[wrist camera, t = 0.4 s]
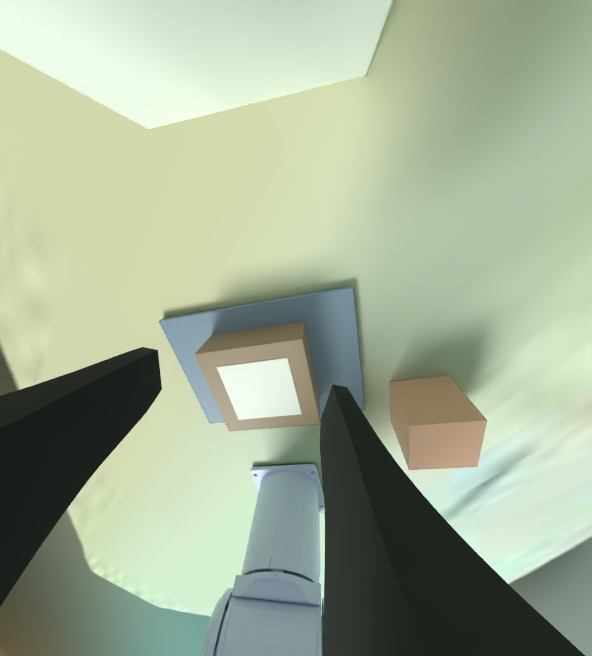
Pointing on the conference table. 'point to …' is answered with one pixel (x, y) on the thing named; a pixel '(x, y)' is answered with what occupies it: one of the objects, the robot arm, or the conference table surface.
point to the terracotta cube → (436, 423)
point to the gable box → (192, 49)
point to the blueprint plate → (304, 306)
